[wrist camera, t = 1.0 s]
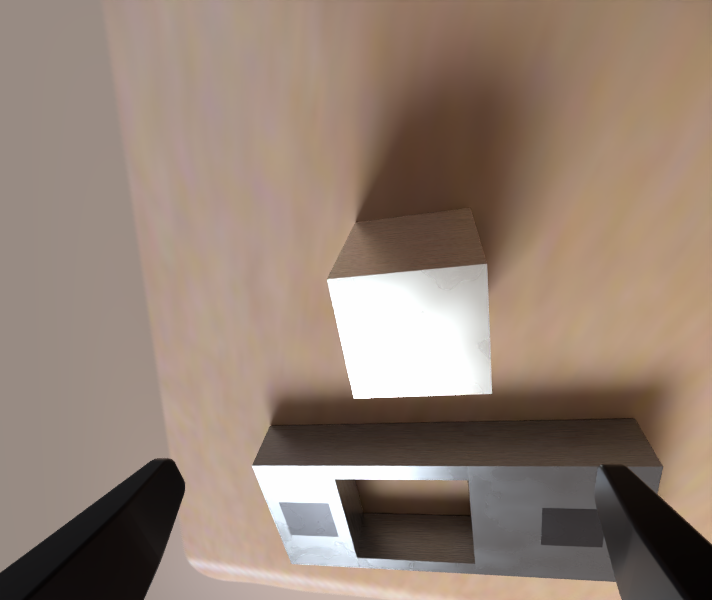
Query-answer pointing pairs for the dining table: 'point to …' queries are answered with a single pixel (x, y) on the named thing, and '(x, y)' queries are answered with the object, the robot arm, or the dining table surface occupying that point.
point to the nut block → (414, 306)
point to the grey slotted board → (452, 462)
